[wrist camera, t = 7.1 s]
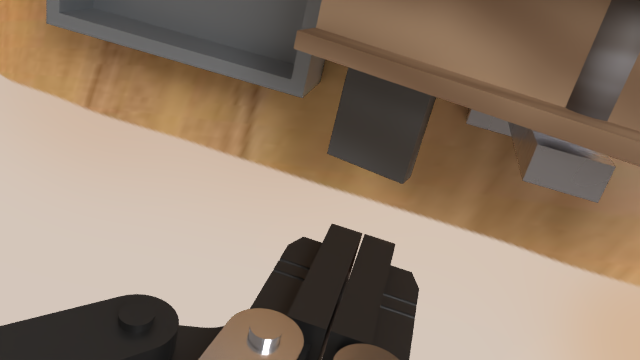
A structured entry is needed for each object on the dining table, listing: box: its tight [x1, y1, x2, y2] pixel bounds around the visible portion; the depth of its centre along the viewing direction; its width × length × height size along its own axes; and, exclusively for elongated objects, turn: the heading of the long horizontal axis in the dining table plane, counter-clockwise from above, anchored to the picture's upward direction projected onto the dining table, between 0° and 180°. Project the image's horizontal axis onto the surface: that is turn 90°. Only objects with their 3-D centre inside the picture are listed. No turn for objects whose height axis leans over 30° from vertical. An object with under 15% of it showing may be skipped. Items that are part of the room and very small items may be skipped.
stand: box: [466, 109, 616, 203], centre depth 24 cm, size 13×7×10 cm, turn 167°
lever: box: [294, 0, 640, 184], centre depth 22 cm, size 11×24×5 cm, turn 77°
